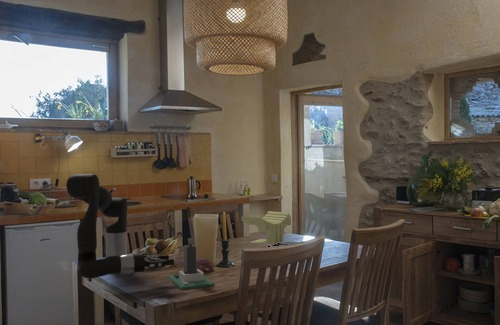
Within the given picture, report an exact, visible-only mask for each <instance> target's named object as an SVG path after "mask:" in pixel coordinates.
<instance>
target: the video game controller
mask: <svg viewBox="0 0 500 325" xmlns="http://www.w3.org/2000/svg"><path fill="white" fill-rule="evenodd" d="M196 264H197V269H199V270H200V271H202V272H203V271H204V272H205V271H206V270H207V269H208V270H210V271H214V265H213V264H212V263H211V262H210V261H209V260H208V259H207V258H201V257H200V258H196Z"/></svg>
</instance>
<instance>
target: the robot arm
mask: <svg viewBox="0 0 500 325" xmlns="http://www.w3.org/2000/svg"><path fill="white" fill-rule="evenodd" d="M65 186H66V191H67V193H68V195H69V196H70V197H71V198H72V199H77V200H80V201H82V202H84V203H85V204H87V205H88V207H87V210H86V212H85V214H84V216H83V218H82V219H81V221H80V223H79V225H78V226H77V227H78V228H77V232H76V233H77V234H76V237H77V238H76V239H77V250H78V252H77V253H78V254H77V269H78V271H79V275H80V276H82V277H83V278H85V279H95V278H96V279H97V278H101V277H104V276H108V275H119V274H134V273H135V274H136V273H143V272H144V271H145V269H146V267H148V269H161V268H162V269H163V268H165V267H166V266H173V265H175V259H174V258H171V259H170V256H169V254H164V255H162V254H161V255H160V254H156V253H155V254H148V255H145V254H144V253H143V252H139V253H127V252H128V251H127V247H128V246H127V241H128V240H127V224H128V222H127V221H128V220H127V219H128V200H127V199H126V197H112V193H111V192H110V191H109V190H108V189H107V188H106V187H104V186H101V185H100V179H99V177H98V176H97V174H95V173H78V174H72V175H70V176H69V177H68V179H67V181H66V185H65ZM98 211H99V212H100V213H101V214H102V215H103V216H104V217H107V218H117V221H116V222H114V223H111V224H108V225H107V226H105V227H106V228H105V256H106V257H105V258H100V259H97V249H98V245H97V243H98V242H97V240H98V238H97V237H98V236H97V222H98Z"/></svg>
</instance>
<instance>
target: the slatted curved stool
mask: <svg viewBox="0 0 500 325" xmlns="http://www.w3.org/2000/svg"><path fill="white" fill-rule="evenodd" d="M241 222H243V223H245V224H249V225H252V226H255V227H256V228H257V230H258V232H261V233H265V234H266V235H267V239H266V238H260V239H259V238H258V239H255V240H252V241H250V242H249V244H250V243H264V244H275V243H278V242H282V241H284V233H285V229H286V228H287V227H288V226H292V216H291V215H290V213H288V212H283V211H274V210H273V211H270V210H268V211H267V213H266V214H265V215H264V216H263V217H262V218H260V217H252V216H250V217H249V216H241ZM282 243H283V242H282Z"/></svg>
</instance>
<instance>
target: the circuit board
mask: <svg viewBox="0 0 500 325" xmlns="http://www.w3.org/2000/svg"><path fill="white" fill-rule="evenodd" d="M204 274H205V273H204V272H203V270H202V271H200V270H199V269H197V273H194V274H185V273H184V270H179V271H178V273H173V274H169V275H167V278H168V279H169V280H170V281H171V282H172V283H173V284H174V285H175V286H176V287H177V288H178V289H179V290H180V291H181V290H188V289H196V288H197V289H199V288H207V287H213V286H215V283H214V282H213V281H212V280H210V279H209V278H208V277H206V276H205V275H204Z"/></svg>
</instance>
